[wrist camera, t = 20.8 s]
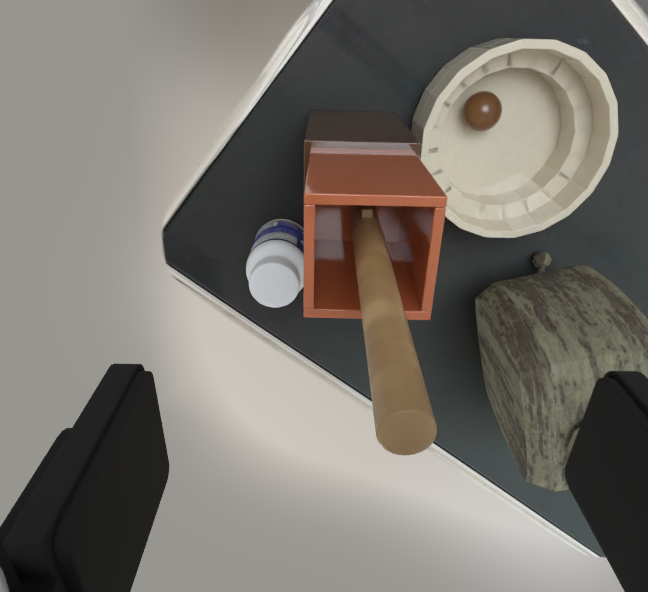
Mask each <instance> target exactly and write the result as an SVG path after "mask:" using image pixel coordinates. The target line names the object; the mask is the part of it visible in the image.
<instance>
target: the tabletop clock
mask: <svg viewBox="0 0 648 592" xmlns="http://www.w3.org/2000/svg"><path fill="white" fill-rule="evenodd" d="M532 261H533V264H534V266H536V267H537V268H538V271H537V273H536V274H531V275H526V276H522V277H517V278H512V279H507V280H503V281H498V282H493V283H492V284H491V285H490V286H489V287H488V288H486V289H485V290H484V291H483V292H482V293H481V294H480V295H478V296H477V297H476V298H475V308H476V319H477V329H478V338H479V346H480V354H481V362H482V369H483V376H484V382H485V387H486V391H487V395H488V398H489V401H490V403H491V406H492V409H493V411H494V414H495V416H496V419H497V421H498V423H499V426H500V428H501V430H502V433H503V435H504V438H505V440H506V442H507V444H508V447H509V449H510V451H511V453H512V455H513V458H514V460H515V462H516V464H517V466H518V468H519V470H520V472H521V474H522V476H523V477H524V479H525V480H526V481H527V482H530V483H532V484H535V485H538V486H540V487H543V488H545V489H548V490H551V491H553V492H555V491H561V490H568V489H569V487H568V485H567V483H566V479H565V466H566V463H567V460H568V457H569V455H570V452H571V449H572V447H573V444H574V441H575V438H576V436H577V433H578V430H579V427H580V425H581V422H582V419H583V417H584V414H585V411H586V408H587V406H588V403H589V400H590V397H591V395H592V392H593V389H594V386H595V384H596V382H597V380H598V379H599V378H603V377H604V375H605V374H606V373H607V372H609V371H638V372H641V373H642V374H644V375H645V376H646V377H647V378H648V319H647V318H646V317H645V316H644V314H643V313H642V312H641V311H640V310H639V308H638V307H637V306H636V305H635V304H634V303H633V302H632V301H631V300H630V299H629V298H628V297H627V296H626V295H625V294H624V293H623V292H622V291H621V290H620V289H619V288H618V287H617V286H616V285H615V284H613V283H612V282H610V281H609V280H608V279H606V278H605V277H604V276H602V275H601V274H600V273H598V272H597V271H596V270H594V269H592V268H591V267H588V266H586V265H574V266H569V267H565V268H560V269H555V270H550V271H545V268H546V267H548V266H549V265H550V262H551V257H550V255H549V254H548V253H546V252H538V253H536V254H535V255H534V257H533V260H532Z"/></svg>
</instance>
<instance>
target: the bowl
mask: <svg viewBox="0 0 648 592" xmlns="http://www.w3.org/2000/svg"><path fill="white" fill-rule="evenodd" d="M480 91H489V92H492V93H494V94H495V95H496V96H497V97H498V98H499V99H500V101H501V104H502V114H501V117H500V119H499V121H498V123H497V124H496V125H495V126H494V127H492V128H491V129H489V130H487V131H482V132H478V131H474V130H471V129H470V128H468V127H467V126H466V124H465V123H464V121H463V117H462V110H463V106H464V104H465V102H466V101H467V99H468V98H469V97H470V96H471V95H473V94H475V93H477V92H480ZM411 132H412V134H413V135H414V136H415V137H416V138H417V140H418V141H419V142H420V143H421V146H420V155H419V158H420V160H421V161H422V163H423V164H424V165H425V167H426V168H427V169H428V171H429V172H430V173H431V175H432V176H433V178H434V179H435V180H436V182H437V183H438V184H439V186H440V187H441V188H442V190H443V191H444V193H445V194H446V195H447V197H448V199H447V206H446V213H445V217H446V218H448V219H449V220H450V221H451V222H453V223H454V224H455V225H456V226H458V227H459V228H461V229H463V230H466V231H469V232H471V233H474V234H477V235H480V236H483V237H489V238H516V237H519V236H523V235H527V234H531V233H535V232H538V231H542V230H544V229H546V228H548V227H549V226H551V225H553V224H555V223H556V222H558V221H560V220H562V219H563V218H565V217H567V216H568V215H570V214H571V213H572V212H573V211H574V210H575V209H576V208H577V207H578V206H579V205H580V204H581V203H582V202H583V201H584V200H585V199H586V198H587V197H588V196H590V195H591V194H592V192H593V191H594V189H595V187H596V186H597V184H598V182H599V181H600V179H601V178H602V176H603V174H604V173H605V171H606V170H607V168H608V166H609V165H610V161H611V158H612V154H613V151H614V147H615V144H616V141H617V137H618V104H617V100H616V97H615V95H614V92H613V90H612V87H611V85H610V82H609V80H608V77H607V75H606V73H605V72H604V71H603V70H602V69H601V68H600V67H599V66H598V65H597V64H596V63H595V62H594V61H593V59H592V58H591V57H590V56H589V55H588V54H587V53H586V52H584V51H582V50H579V49H577V48H575V47H572V46H570V45H568V44H565V43H563V42H561V41H558V40H552V39H518V38H497V39H494V40H491V41H488V42H485V43H482V44H479V45H476V46H472V47H470V48H468V49H467V50H465V51H464V52H462V53H461V54H460V55H458V56H457V57H455V58H454V59H453V60H451V61H450V62H448V63H447V64H445V65H444V66H443V67H442V68H441V70H440V71H439V72H438V73H437V75H436V76H435V77H434V79H433V80H432V81H431V82H430V84H429V85H428V86H427V87H426V89H425V90H424V92H423V94H422V96H421V99H420V101H419V104H418V106H417V109H416V111H415V113H414V116H413V119H412V127H411Z"/></svg>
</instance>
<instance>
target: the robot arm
mask: <svg viewBox="0 0 648 592" xmlns="http://www.w3.org/2000/svg"><path fill="white" fill-rule="evenodd" d="M168 474H169V461H168V455H167V449H166V444H165V439H164V433H163V427H162V422H161V417H160V411H159V405H158V400H157V394H156V389H155V383H154V377H153V374H152V372H150V371H145V370H144V368H143V366H142V365H141V364H113V365H111V366H110V367H109V369H108V370H107V372H106V374H105V375H104V377H103V379H102V380H101V382H100V383H99V386H98V387H97V388H96V390H95V392H94V393H93V395H92V397H91V398H90V400H89V402H88V403H87V405H86V406H85V408H84V410H83V411H82V413H81V415H80V416H79V418H78V419H77V421H76V423H75V424H74V426H73V428H67V429H65V430H63V431H62V432H61V433H60V435H59V436H58V437H57V438H56V440H55V442H54V443H53V445H52V446H51V448H50V449H49V451H48V453H47V454H46V456H45V457H44V459H43V461H42V462H41V464H40V465H39V467H38V468H37V470H36V472H35V473H34V475H33V476H32V478H31V480H30V481H29V483H28V484H27V486H26V487H25V489H24V491H23V492H22V494H21V495H20V497H19V498H18V500H17V502H16V503H15V505H14V507H13V508H12V509H11V511H10V513H9V514H8V516H7V517H6V519H5V521H4V522H3V524H2V525H1V527H0V592H130V591H131V588H132V585H133V582H134V578H135V576H136V573H137V570H138V567H139V564H140V561H141V558H142V555H143V552H144V549H145V546H146V542H147V540H148V536H149V534H150V531H151V528H152V525H153V521H154V519H155V515H156V513H157V509H158V507H159V504H160V501H161V498H162V494H163V492H164V489H165V486H166V483H167V479H168ZM565 479H566V483H567V485H568V487H569V489H570V491H571V492H572V494H573V496H574V498H575V500H576V502H577V504H578V506H579V507H580V509H581V511H582V513H583V515H584V517H585V519H586V520H587V522H588V524H589V526H590V528H591V530H592V532H593V533H594V535H595V537H596V539H597V541H598V543H599V545H600V546H601V548H602V550H603V552H604V554H605V556H606V558H607V560H608V561H609V563H610V565H611V567H612V569H613V571H614V573H615V574H616V576H617V578H618V580H619V582H620V584H621V586H622V587H623V589H624V591H625V592H648V378H647V377H646V376H645V375H644V374H642V373H641V372H638V371H609V372H607V373H606V374H605V375H604V377H603V378H599V379H598V380H597V382H596V384H595V386H594V389H593V392H592V395H591V397H590V400H589V403H588V406H587V408H586V411H585V414H584V417H583V419H582V422H581V425H580V427H579V430H578V433H577V436H576V438H575V441H574V444H573V447H572V449H571V452H570V455H569V457H568V460H567V463H566V466H565Z"/></svg>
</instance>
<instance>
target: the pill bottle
mask: <svg viewBox="0 0 648 592" xmlns="http://www.w3.org/2000/svg"><path fill="white" fill-rule="evenodd" d="M246 275H247V279H248V281H249V289H250V292H251V294H252V296H253V297H254V298H255V299H256V300H257V301H258V302H259V303H261V304H262V305H265V306H268V307H273V308H277V307H283V306H285V305H288V304H289V303H291V302H292V301H293V300H294V299H295V298H296V296H297V294H298V292H299V291H300V290H301V289H302V288H303V286H304V229H303V228H302V227H301V226H300V225H299V224H297V223H295V222H293V221H291V220H287V219H276V220H272V221H270V222H268V223H266V224H265V225H263V226H262V227H261V228H260V229H259V231H258V233H257V235H256V237H255V240H254V243H253V246H252V249H251V251H250V254H249V257H248V260H247V264H246Z"/></svg>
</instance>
